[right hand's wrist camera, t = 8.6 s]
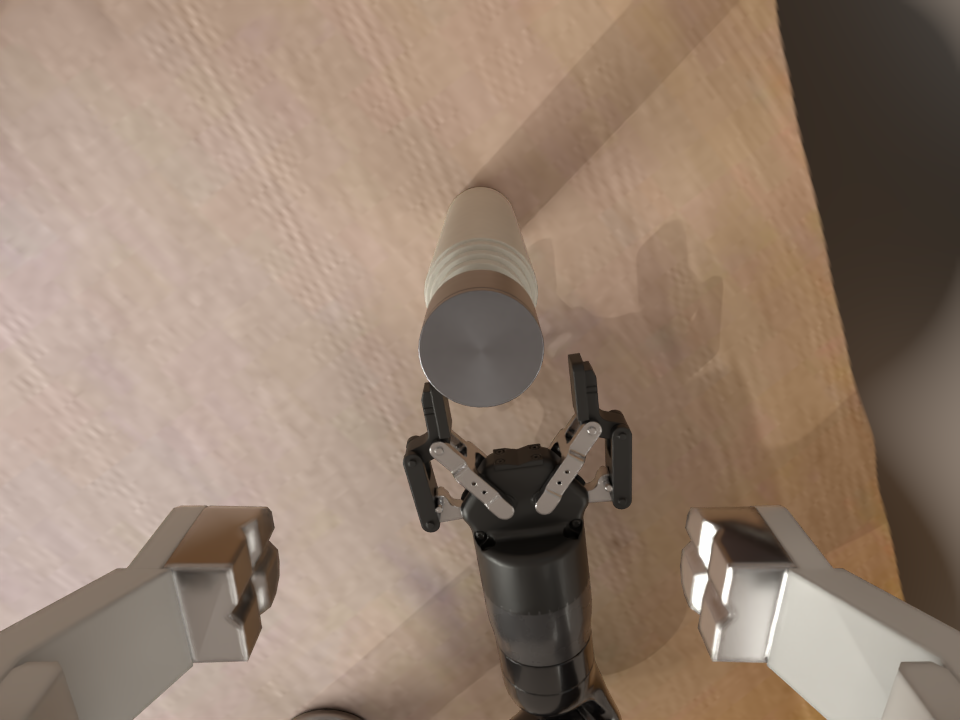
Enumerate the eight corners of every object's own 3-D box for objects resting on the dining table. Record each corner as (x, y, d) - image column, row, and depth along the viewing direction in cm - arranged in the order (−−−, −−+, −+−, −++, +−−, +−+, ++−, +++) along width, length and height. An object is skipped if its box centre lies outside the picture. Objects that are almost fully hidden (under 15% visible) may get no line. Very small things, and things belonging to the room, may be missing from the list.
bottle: (435, 239, 41) (386, 379, 20) (463, 174, 39) (443, 250, 18) (497, 267, 42) (514, 432, 20) (527, 205, 40) (580, 312, 19)
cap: (408, 349, 22) (399, 379, 19) (452, 250, 20) (448, 269, 18) (507, 390, 22) (510, 425, 20) (556, 297, 21) (566, 322, 19)
